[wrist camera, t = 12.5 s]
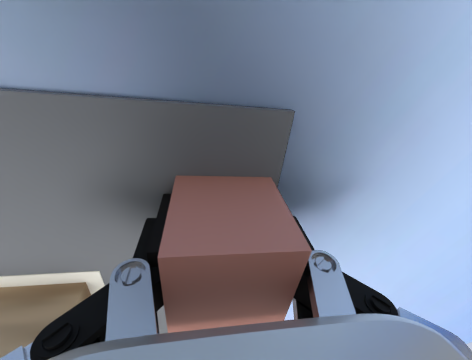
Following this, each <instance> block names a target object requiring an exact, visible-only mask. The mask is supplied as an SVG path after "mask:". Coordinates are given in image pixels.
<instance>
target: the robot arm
mask: <svg viewBox="0 0 472 360" xmlns="http://www.w3.org/2000/svg"><path fill="white" fill-rule="evenodd" d="M171 195H172V194H163V197H162V200H161V204H160V207H159V211H158V214H157V218H147V219H146V221H145V224H144V227H143V230H142V232H141V235H140V238H139V241H138V244H137V247H136V250H135V253H134V256H133V258H132V259H129V260H126V261H124V262H122V263H120V264H119V265H118V266H117V267H116V268H115V269H114V270H113V272H112V273H111V277H110V283H108V284H107V285H105V286H104V287H102V288H101V289H99V290H98V291H97V292H95V293H94V294H92V295H91V296H89V297H88V298H86V299H85V300H83V301H82V302H80V303H79V304H77V305H76V306H74V307H73V308H71V309H70V310H69V311H67V312H66V313H64V314H63V315H61V316H60V317H58V318H57V319H55V320H54V321H52V322H51V323H50V324H48V325H47V326H46V327H45V328H43V330H42V331H41V332H40V333H39V334H38V335H37V336H36V338H35V340H34V341H33V342H32V343H31V344H29V345H27V346H26V347H23V346H22V345H21V346H20V347H18V348H16V349H15V350H13V351H12V352H10V353H8V354H7V355H5V356H3V357H2V358H0V360H472V351H471V350H470V348H469V347H468V346H467V345H466V344H465V343H464V342H463V341H462V340H461V339H460V338H459V337H458V336H456V335H454V334H453V333H451V332H449V331H447V330H445V329H443V328H441V327H439V326H437V325H435V324H433V323H431V322H429V321H427V320H425V319H423V318H421V317H419V316H417V315H415V314H413V313H411V312H409V311H407V310H405V309H402V308H400V307H399V308H398V309H396V307H395V306H394V305H393V303H392V302H391V301H390V300H389V299H388V298H387V297H385V296H384V295H382V294H381V293H379V292H377V291H375V290H374V289H372V288H370V287H368V286H367V285H365V284H363V283H361V282H359V281H358V280H356V279H354V278H352V277H350V276H349V275H347V274H345V273H343V272H342V271H341V268H340V265H339V263H338V261H337V260H336V259H335V257H333V256H332V255H331V254H329V253H327V252H325V251H322V250H314V248H313V246H312V244H311V243H310V241H309V239H308V238H307V236H306V234H305V232H304V231H303V229H302V227H301V225H300V224H299V222H298V220H297V218H296V217H295V216H293V217H294V219H295V221H296V223H297V224H298V226H299V228H300V230H301V232H302V233H303V235H304V237H305V239H306V241H307V242H308V244H309V246H310V248H311V250H312V252H311V255H310V257H309V260H308V262H307V264H306V267H305V269H304V272H303V274H302V277H301V279H300V282H299V284H298V287H297V289H296V292H295V294H294V297H293V299H292V300H293V311H294V320H286V321H276V322H266V323H257V324H247V325H237V326H228V327H218V328H209V329H200V330H191V331H181V332H172V333H163V334H160V331H159V322H158V314H157V311H158V310H159V309H160V308H161V307H162V306H163V305H164V301H163V294H162V287H161V280H160V273H159V265H158V253H159V249H160V244H161V240H162V235H163V231H164V226H165V222H166V217H167V213H168V208H169V204H170V199H171Z"/></svg>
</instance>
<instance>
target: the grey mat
mask: <svg viewBox="0 0 472 360" xmlns="http://www.w3.org/2000/svg"><path fill="white" fill-rule="evenodd" d="M294 113H295V111H293V110H288V109H274V108H261V107H247V106H233V105H220V104H206V103H193V102H179V101H165V100H152V99H138V98H124V97H111V96H97V95H84V94H70V93H56V92H43V91H29V90H15V89H2V88H0V287H16V286H32V285H49V284H65V283H81V282H86V284H87V286H88V288H89V291H90V293H91V295H92V294H94V293H95V292H97V291H98V290H99V289H101V288H102V287H104V286H105V285H107V284H108V283H110V277H111V273H112V272H113V270H114V269H115V268H116V267H117V266H118V265H119V264H120V263H122V262H124V261H126V260H129V259H132V258H133V256H134V253H135V250H136V247H137V244H138V241H139V238H140V235H141V232H142V230H143V227H144V224H145V221H146V219H147V218H157V214H158V211H159V207H160V204H161V200H162V197H163V194H172V190H173V186H174V181H175V177H176V176H233V177H271V178H272V180H273V182H274V183H275V185H276V187H278V183H279V178H280V174H281V170H282V165H283V161H284V157H285V152H286V148H287V144H288V139H289V135H290V131H291V126H292V122H293V118H294ZM157 314H158V322H159V331H160V334H163V333H168V330H167V323H166V316H165V309H164V305H163V306H162V307H161V308H160V309H159V310H158V311H157Z"/></svg>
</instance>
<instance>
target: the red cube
mask: <svg viewBox="0 0 472 360" xmlns="http://www.w3.org/2000/svg"><path fill="white" fill-rule="evenodd" d="M311 252H312V250H311V248H310V246H309V244H308V242H307V241H306V239H305V237H304V235H303V233H302V232H301V230H300V228H299V226H298V224H297V223H296V221H295V219H294V217H293V216H292V214H291V212H290V210H289V208H288V207H287V205H286V203H285V201H284V199H283V198H282V196H281V194H280V192H279V190H278V189H277V187H276V185H275V183H274V182H273V180H272V178H271V177H233V176H176V177H175V181H174V186H173V190H172V195H171V199H170V204H169V208H168V213H167V217H166V222H165V226H164V231H163V235H162V240H161V244H160V249H159V253H158V265H159V273H160V280H161V287H162V294H163V301H164V309H165V316H166V323H167V330H168V333H172V332H181V331H191V330H200V329H209V328H218V327H228V326H237V325H247V324H257V323H266V322H276V321H284V319H285V316H286V314H287V311H288V309H289V307H290V304H291V302H292V299H293V297H294V294H295V292H296V289H297V287H298V284H299V282H300V279H301V277H302V274H303V272H304V269H305V267H306V264H307V262H308V260H309V257H310V255H311Z"/></svg>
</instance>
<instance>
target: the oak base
mask: <svg viewBox="0 0 472 360" xmlns="http://www.w3.org/2000/svg"><path fill="white" fill-rule="evenodd" d="M89 296H91V293H90V291H89V288H88V286H87V284H86V282H81V283H65V284H49V285H32V286H16V287H0V358H2V357H3V356H5V355H7V354H8V353H10V352H12V351H13V350H15V349H16V348H18V347H20V346H21V345H22V346H23V347H26V346H27V345H29V344H31V343H32V342H33V341H34V340H35V338H36V336H37V335H38V334H39V333H40V332H41V331H42V330H43V328H45V327H46V326H47V325H48V324H50V323H51V322H52V321H54V320H55V319H57V318H58V317H60V316H61V315H63V314H64V313H66V312H67V311H69V310H70V309H71V308H73V307H74V306H76V305H77V304H79V303H80V302H82V301H83V300H85V299H86V298H88V297H89Z"/></svg>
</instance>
